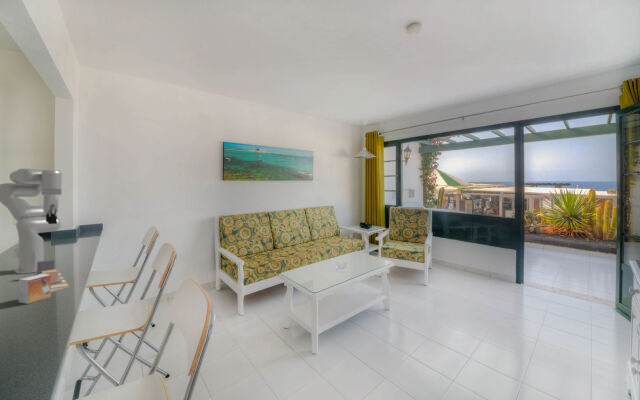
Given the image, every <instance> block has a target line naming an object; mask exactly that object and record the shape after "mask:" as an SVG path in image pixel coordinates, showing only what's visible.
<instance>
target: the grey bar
mask: <svg viewBox="0 0 640 400" xmlns="http://www.w3.org/2000/svg"><path fill="white" fill-rule="evenodd" d="M53 269H55V260H54V259H47V260H44V261H38V262H37V272H36V274H34V275H33V276H35V275H39V274H42V271H47V270H53ZM60 282H62V280H61V279H60V277H59V275H58V274H57V281H53V282H51V284H55V283H60Z"/></svg>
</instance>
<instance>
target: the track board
mask: <svg viewBox="0 0 640 400" xmlns="http://www.w3.org/2000/svg"><path fill="white" fill-rule="evenodd" d="M57 274H58V275H59V277H60V279H61V280H62V282H60V283H55V284H51V293H54V292H60V291H64V290H69V289H70V285H69V284H68V283H67V281H66V279H65V278H64V277H63V275H62V274H61V272H60V271H57ZM31 276H32V275H30V276H29V277H31Z"/></svg>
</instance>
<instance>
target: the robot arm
mask: <svg viewBox="0 0 640 400" xmlns="http://www.w3.org/2000/svg"><path fill="white" fill-rule="evenodd" d="M62 179H63V178H62V172H61V171H59V170H54V169H53V170H51V169H38V168H36V169H35V168H18V169H17V170H14V171H12V172H10V174H9V180H10V181H11V182H8V183H7V182H6V183H0V203H1V204H2V205H3V206H5V207H6V209H7V210H8V212H9V213H10V214H11V216H12V217H13V218H14V220H16V225H15V226H16V231H17V235H18V268H17V269H15V270H14V274H18V275H19V274H20V275H21V274H31V273H37V262H38V261H45V260H44V259H45V256H44V255H45V252H44V249H45V248H44V247H45V245H44V244H45V242H44V241H45V240H44V238H43V237H42V236H40V235H39V234H40V233H51V232H57V231H59V229H60V228H61V227H62V226H61V225H62V224H61V220H60V219H59V217H58V216H57V213H58V212H59V196H62ZM40 194H41V196H43V205H30V204H29V202H28V201H26V200H25V199H23V198H27V197H28V198H34V197H37V196H39V195H40ZM22 197H23V198H22Z"/></svg>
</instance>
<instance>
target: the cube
mask: <svg viewBox="0 0 640 400" xmlns="http://www.w3.org/2000/svg"><path fill="white" fill-rule="evenodd" d="M57 272H58V269H56V268H54V269H53V270H47V271H42V274H49V275H51V282H53V281H57Z"/></svg>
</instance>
